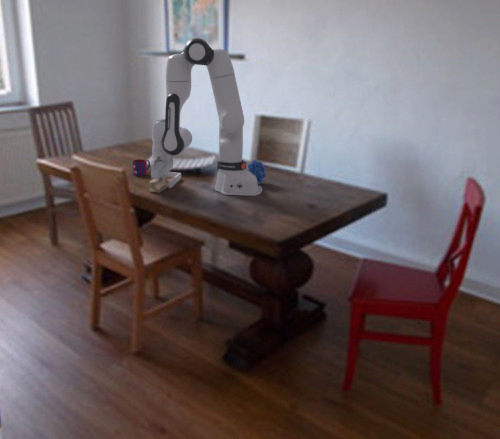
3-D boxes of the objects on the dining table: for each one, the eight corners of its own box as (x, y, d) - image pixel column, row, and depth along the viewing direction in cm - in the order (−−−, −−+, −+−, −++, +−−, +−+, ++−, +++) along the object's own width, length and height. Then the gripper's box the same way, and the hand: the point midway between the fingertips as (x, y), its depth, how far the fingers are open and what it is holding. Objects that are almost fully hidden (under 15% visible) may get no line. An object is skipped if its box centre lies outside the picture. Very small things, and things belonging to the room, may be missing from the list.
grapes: (251, 187, 265) (252, 163, 261) (243, 184, 270) (244, 160, 266) (270, 184, 272) (271, 160, 268) (261, 181, 277) (263, 157, 273)
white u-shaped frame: (181, 178, 275) (181, 173, 274) (170, 187, 260) (170, 181, 259) (164, 177, 276) (164, 171, 275) (153, 186, 261) (153, 180, 260)
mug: (130, 173, 280) (130, 160, 277) (146, 170, 286) (146, 157, 284) (138, 176, 275) (137, 163, 273) (154, 173, 282) (154, 160, 280)
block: (165, 188, 259) (165, 179, 257) (159, 192, 252) (159, 183, 251) (156, 187, 260) (155, 178, 258) (149, 191, 254) (149, 181, 252)
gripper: (160, 160, 246) (161, 190, 251) (175, 150, 265) (175, 178, 269) (147, 159, 247) (147, 188, 252) (162, 149, 266) (163, 176, 271)
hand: (162, 183), depth 261 cm, fingers closed
